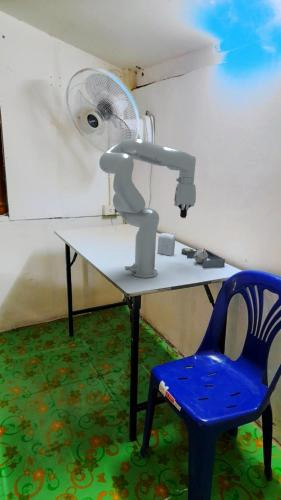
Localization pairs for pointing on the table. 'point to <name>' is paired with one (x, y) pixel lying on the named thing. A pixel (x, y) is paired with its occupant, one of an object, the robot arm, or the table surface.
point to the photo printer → (166, 244)
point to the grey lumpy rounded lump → (200, 256)
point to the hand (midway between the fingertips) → (183, 217)
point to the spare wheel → (184, 251)
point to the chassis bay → (212, 263)
